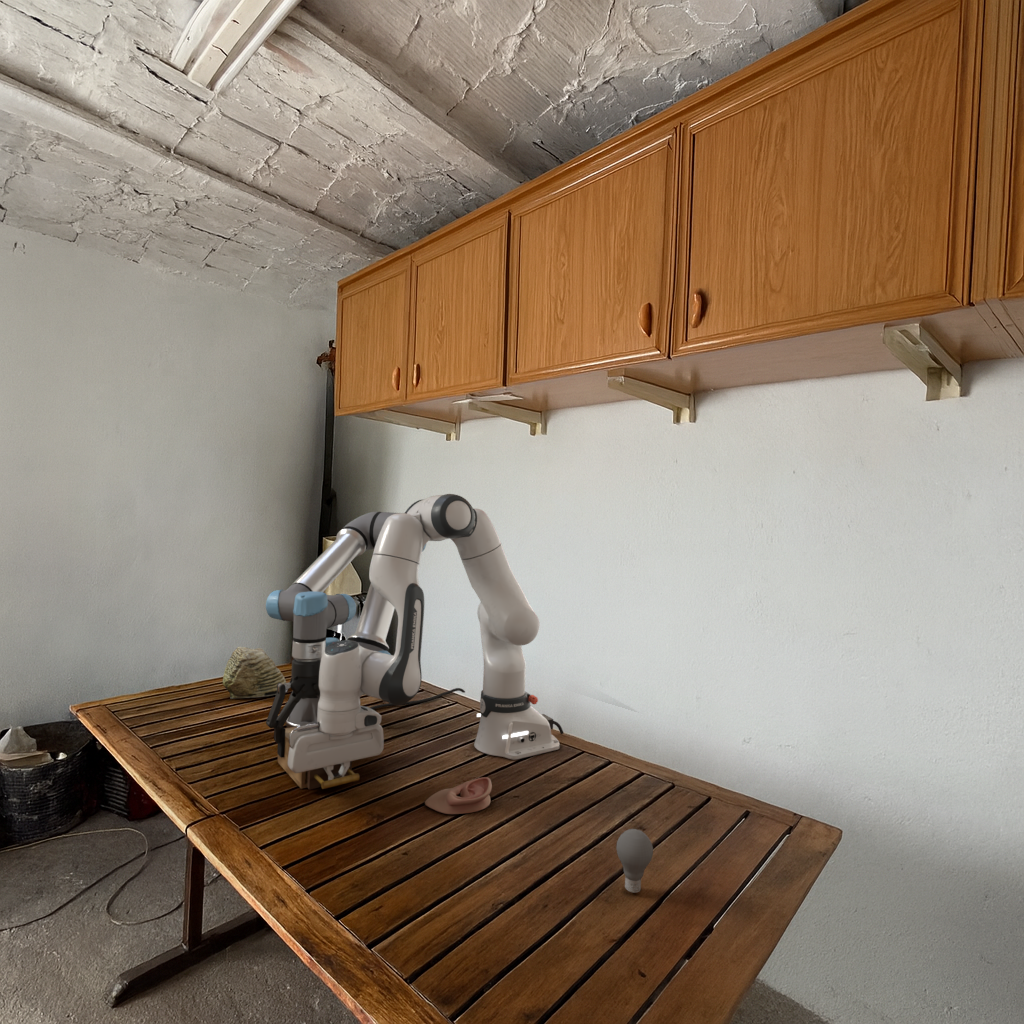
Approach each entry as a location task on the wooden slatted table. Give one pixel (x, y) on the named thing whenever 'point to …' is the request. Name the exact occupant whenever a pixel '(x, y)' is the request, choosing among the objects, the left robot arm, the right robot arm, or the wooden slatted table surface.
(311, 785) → the drawer
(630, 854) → the light bulb
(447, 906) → the wooden slatted table surface
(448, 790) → the anatomical model
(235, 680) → the fossil
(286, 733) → the cabinet
